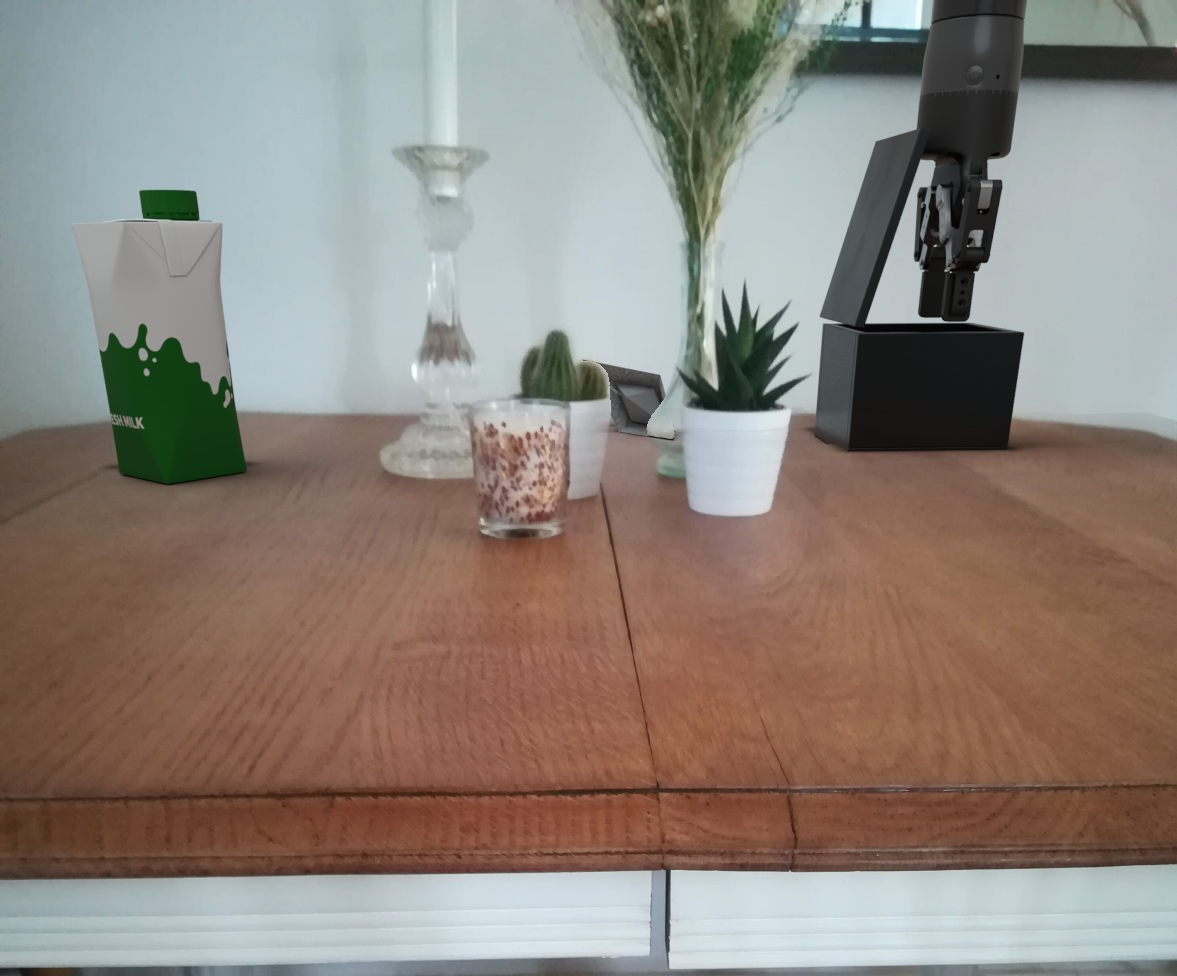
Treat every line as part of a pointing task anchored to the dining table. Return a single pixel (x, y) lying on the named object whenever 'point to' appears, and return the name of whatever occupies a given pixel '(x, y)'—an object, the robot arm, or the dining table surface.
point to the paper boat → (633, 397)
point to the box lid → (873, 227)
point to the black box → (917, 386)
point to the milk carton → (163, 339)
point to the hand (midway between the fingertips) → (942, 318)
